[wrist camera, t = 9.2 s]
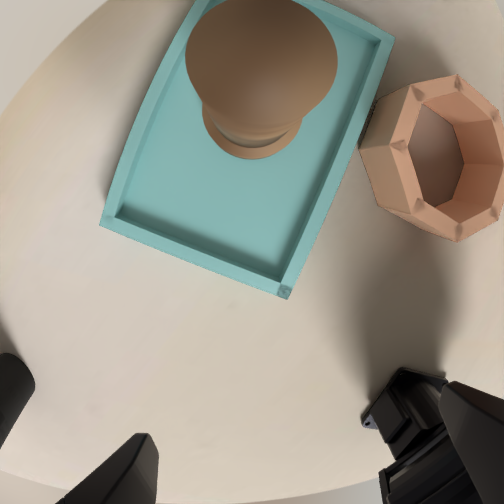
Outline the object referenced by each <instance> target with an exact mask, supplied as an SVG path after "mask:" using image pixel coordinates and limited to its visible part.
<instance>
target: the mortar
mask: <svg viewBox="0 0 504 504" xmlns="http://www.w3.org/2000/svg"><path fill="white" fill-rule="evenodd" d="M422 103H423V104H424V105H426V106H427V107H428V108H430V109H431V110H433V111H434V112H436V113H437V114H438V115H440V116H441V117H443V118H444V119H445V120H447V121H448V122H449V123H451V124H452V125H453V128H454V131H455V134H456V137H457V140H458V144H459V147H460V150H461V154H462V157H463V161H464V166H463V169H462V172H461V175H460V178H459V181H458V184H457V187H456V190H455V193H454V195H453V198H452V200H450V201H447V202H445V203H443V204H441V205H439V206H436V207H433V206H431V205H429V204H428V203H426V202H425V201H424V200H423V196H422V193H421V189H420V186H419V182H418V179H417V176H416V172H415V169H414V166H413V163H412V160H411V157H410V154H409V151H408V148H407V146H408V144H409V141H410V138H411V135H412V132H413V129H414V126H415V124H416V121H417V118H418V115H419V112H420V108H421V105H422ZM359 152H360V154H361V157H362V160H363V163H364V165H365V168H366V171H367V174H368V177H369V180H370V183H371V186H372V189H373V192H374V195H375V198H376V201H377V204H378V206H380V207H382V208H384V209H386V210H388V211H389V212H391V213H393V214H395V215H397V216H399V217H401V218H402V219H404V220H406V221H408V222H410V223H411V224H413V225H415V226H417V227H418V228H420V229H422V230H425V231H427V232H430V233H433V234H435V235H438V236H441V237H443V238H446V239H449V240H451V241H454V242H456V243H458V242H459V241H461V240H463V239H465V238H467V237H468V236H470V235H472V234H474V233H476V232H478V231H479V230H481V229H483V228H485V227H486V226H488V225H490V224H492V223H494V222H495V221H498V218H499V215H500V212H501V209H502V206H503V203H504V127H503V124H502V120H501V117H500V114H499V110H498V109H497V108H495V107H494V106H493V105H492V104H491V103H490V102H489V101H488V100H487V99H486V98H485V97H483V96H482V95H481V94H480V93H479V92H478V91H477V90H475V89H474V88H473V87H472V86H471V85H469V84H468V83H467V82H466V81H465V80H463V79H462V78H461V77H460V76H458V74H456V75H452V76H447V77H442V78H437V79H432V80H428V81H423V82H419V83H414V84H409V85H407V86H405V87H403V88H401V89H399V90H397V91H395V92H392V93H390V94H388V95H386V96H384V97H382V98H380V99H378V101H377V104H376V107H375V109H374V112H373V115H372V117H371V120H370V123H369V125H368V128H367V130H366V133H365V135H364V138H363V140H362V143H361V146H360V148H359Z"/></svg>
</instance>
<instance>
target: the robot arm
mask: <svg viewBox="0 0 504 504" xmlns="http://www.w3.org/2000/svg"><path fill="white" fill-rule="evenodd" d="M402 373H403V374H402ZM366 422H367V423H366ZM361 424H362V426H363V427H365V428H371V429H378V430H379V432H380V434H381V436H382V438H383V440H384V442H385V443H386V444H388V446H389V449H390V451H391V453H392V455H393V457H394V459H395V460H396V461H395V462H394V463H393V464H391V465H390V466H388V467H387V468H386V469H385V468H384V469H382V470H381V471H380V472H378V473H379V479H380V481H379V482H380V488H381V494H382V501H383V504H504V400H503V399H501V398H498V397H496V396H493V395H490V394H488V393H485V392H482V391H480V390H477V389H475V388H472V387H470V386H467V385H465V384H462V383H460V382H457V381H452V382H450V383H448V380H447V379H446V378H443V377H439V376H435V375H431V374H427V373H423V372H419V371H415V370H411V369H408V368H403V367H402V368H400V369H398V370H397V372H396V373H395V375H394V376H393V378H392V379H391V381H390V382H389V384H388V385H387V387H386V388H385V389H384V391H383V392H382V394H381V395H380V397H379V398H378V399H377V401H376V402H375V404H374V405H373V406H372V408H371V409H370V410H369V412H368V413H367V414H366V416H365V417H364V418H363V420H362V421H361ZM158 461H159V454H158V450H157V448H156V446H155V444H154V442H153V440H152V437H151V436H150V434H148V433H135V434H134V435H133V436H132V437H131V438H130V439H129V440H127V441H126V442H125V443H124V444H123V445H122V446H121V447H120V448H119V449H118V450H117V451H115V452H114V453H113V454H112V455H111V456H110V457H109V458H108V459H107V460H105V461H104V462H103V463H102V464H101V465H100V466H99V467H98V468H96V469H95V470H94V471H93V472H92V473H91V474H90V475H88V476H87V477H86V478H85V479H84V480H83V481H82V482H80V483H79V484H78V485H77V486H76V487H75V488H73V489H72V490H71V491H70V492H69V493H68V494H66V495H65V496H64V498H62V499H60V500H59V501H58V502H57V503H55V504H155V502H156V494H157V477H158Z"/></svg>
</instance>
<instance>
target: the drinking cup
mask: <svg viewBox="0 0 504 504" xmlns="http://www.w3.org/2000/svg"><path fill="white" fill-rule="evenodd" d="M34 390H35V382H34V379H33V377H32V375H31V373H30V371H29V370H28V368H27V367H26V366H25V364H24V363H23V362H22V361H21V360H19V359H18V358H17V357H15V356H14V355H12V354H9V353H3V354H1V355H0V449H1V447H2V445H3V443H4V441H5V439H6V438H7V436H8V434H9V432H10V431H11V429H12V427H13V425H14V424H15V422H16V420H17V419H18V417H19V415H20V414H21V412H22V410H23V409H24V407H25V405H26V404H27V402H28V400H29V399H30V397H31V396H32V394H33V392H34Z"/></svg>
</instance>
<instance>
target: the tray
mask: <svg viewBox="0 0 504 504" xmlns="http://www.w3.org/2000/svg"><path fill="white" fill-rule="evenodd" d="M224 1H226V0H196V1H195V3H194V4H193V6H192V8H191V9H190V11H189V13H188V14H187V16H186V18H185V19H184V21H183V23H182V25H181V26H180V28H179V30H178V32H177V34H176V35H175V37H174V39H173V41H172V43H171V45H170V47H169V48H168V50H167V52H166V54H165V56H164V58H163V60H162V62H161V64H160V66H159V68H158V70H157V72H156V74H155V76H154V79H153V81H152V83H151V85H150V87H149V89H148V91H147V94H146V96H145V98H144V100H143V103H142V105H141V107H140V110H139V112H138V114H137V117H136V119H135V122H134V124H133V126H132V129H131V131H130V134H129V137H128V139H127V142H126V144H125V147H124V150H123V152H122V155H121V158H120V161H119V164H118V166H117V169H116V172H115V175H114V178H113V181H112V184H111V187H110V190H109V193H108V197H107V200H106V203H105V206H104V210H103V213H102V217H101V220H100V224H99V225H100V226H102V227H104V228H107V229H109V230H112V231H114V232H116V233H119V234H121V235H123V236H126V237H128V238H131V239H133V240H136V241H138V242H140V243H143V244H145V245H148V246H150V247H153V248H155V249H157V250H160V251H162V252H165V253H167V254H170V255H172V256H175V257H177V258H180V259H182V260H185V261H187V262H190V263H192V264H195V265H197V266H200V267H203V268H205V269H208V270H210V271H213V272H215V273H218V274H221V275H223V276H226V277H228V278H231V279H233V280H236V281H239V282H241V283H244V284H247V285H249V286H252V287H254V288H257V289H260V290H262V291H265V292H268V293H270V294H273V295H276V296H279V297H281V298H284V299H287V300H288V298H289V295H290V293H291V291H292V289H293V287H294V285H295V283H296V281H297V279H298V276H299V274H300V272H301V270H302V268H303V266H304V264H305V261H306V259H307V257H308V255H309V253H310V250H311V248H312V246H313V244H314V242H315V239H316V237H317V235H318V233H319V230H320V228H321V226H322V224H323V221H324V219H325V217H326V215H327V212H328V210H329V208H330V205H331V203H332V201H333V198H334V196H335V194H336V191H337V189H338V187H339V184H340V182H341V180H342V177H343V175H344V172H345V170H346V168H347V165H348V163H349V160H350V158H351V155H352V153H353V150H354V148H355V145H356V143H357V140H358V138H359V135H360V133H361V130H362V128H363V125H364V123H365V120H366V118H367V115H368V112H369V110H370V107H371V104H372V102H373V99H374V97H375V94H376V91H377V88H378V86H379V83H380V80H381V78H382V75H383V72H384V69H385V66H386V64H387V61H388V58H389V55H390V52H391V49H392V47H393V44H394V41H395V37H394V36H392V35H390V34H389V33H387V32H385V31H383V30H382V29H380V28H378V27H376V26H374V25H373V24H371V23H369V22H367V21H365V20H363V19H361V18H359V17H357V16H355V15H353V14H351V13H349V12H347V11H345V10H343V9H341V8H339V7H337V6H334V5H332V4H330V3H328V2H325V1H323V0H292V1H295V2H297V3H299V4H301V5H303V6H304V7H306V8H307V9H309V10H310V11H312V12H313V13H314V14H315V15H316V16H317V17H318V18H319V19H320V20H321V21H322V22H323V23H324V24H325V26H326V27H327V29H328V30H329V32H330V33H331V35H332V38H333V40H334V42H335V46H336V49H337V56H338V67H337V73H336V77H335V80H334V83H333V85H332V87H331V89H330V91H329V92H328V93H327V95H326V96H325V98H324V99H323V100H322V101H321V102H320V103H319V104H318V105H317V106H316V107H314V108H313V109H312V110H311V111H310V112H309V113H308V114H307V115H306V116H304V117H303V119H302V123H301V126H300V129H299V131H298V133H297V135H296V136H295V137H294V139H293V140H292V141H291V142H290V143H289V144H288V145H287V146H286V147H285V148H283V149H282V150H280V151H278V152H277V153H275V154H273V155H271V156H269V157H266V158H262V159H255V160H249V159H241V158H238V157H235V156H232V155H230V154H228V153H227V152H225V151H224V150H222V149H221V148H220V147H219V146H218V145H217V144H216V143H215V142H214V140H213V139H212V138H211V137H210V135H209V134H208V132H207V130H206V128H205V125H204V122H203V117H202V101H201V99H200V98H199V96H198V94H197V92H196V91H195V89H194V87H193V85H192V83H191V81H190V79H189V76H188V73H187V70H186V64H185V51H186V45H187V41H188V38H189V36H190V34H191V31H192V29H193V28H194V26H195V25H196V23H197V22H198V21H199V20H200V19H201V17H202V16H203V15H204V14H206V13H207V12H208V11H209V10H210V9H212V8H213V7H215V6H216V5H218V4H220V3H222V2H224Z"/></svg>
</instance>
